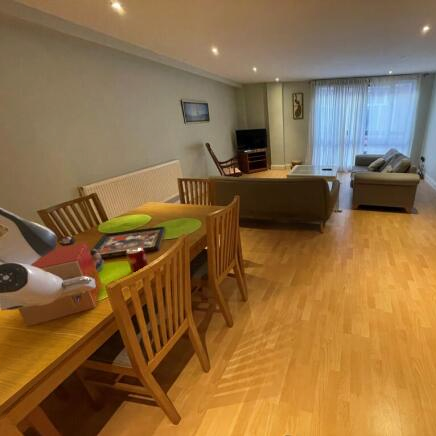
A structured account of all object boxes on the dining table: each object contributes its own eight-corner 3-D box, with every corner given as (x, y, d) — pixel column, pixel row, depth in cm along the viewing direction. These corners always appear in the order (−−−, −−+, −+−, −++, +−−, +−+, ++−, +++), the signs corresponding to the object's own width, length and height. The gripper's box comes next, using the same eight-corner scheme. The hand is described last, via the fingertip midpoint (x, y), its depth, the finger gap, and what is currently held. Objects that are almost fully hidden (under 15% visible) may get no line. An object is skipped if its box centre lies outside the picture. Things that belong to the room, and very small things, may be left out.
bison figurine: (96, 277, 114) (89, 259, 110) (79, 279, 112) (71, 261, 108) (108, 263, 124) (102, 246, 120) (92, 265, 123) (85, 248, 119)
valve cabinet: (95, 306, 96) (77, 260, 88) (29, 324, 87) (1, 275, 79) (102, 283, 109) (86, 242, 101) (44, 298, 100) (22, 253, 92)
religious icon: (165, 226, 167) (164, 223, 166) (165, 249, 138) (164, 245, 137) (98, 238, 151) (97, 234, 150) (83, 266, 122) (81, 261, 121)
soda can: (134, 277, 113) (128, 255, 109) (130, 271, 118) (123, 250, 113) (151, 270, 118) (145, 249, 114) (146, 265, 123) (140, 244, 118)
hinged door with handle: (92, 316, 91) (72, 269, 83) (21, 337, 82) (-9, 287, 74) (95, 306, 96) (77, 260, 88) (28, 325, 87) (1, 276, 79)
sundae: (64, 258, 129) (53, 233, 123) (79, 253, 134) (70, 229, 128) (68, 262, 125) (57, 237, 120) (83, 257, 131) (74, 232, 125)
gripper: (86, 268, 75) (101, 277, 86) (-7, 289, 66) (23, 296, 77) (88, 288, 73) (102, 294, 85) (-8, 312, 64) (23, 316, 75)
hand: (64, 295), depth 81 cm, fingers open, 8 cm apart
